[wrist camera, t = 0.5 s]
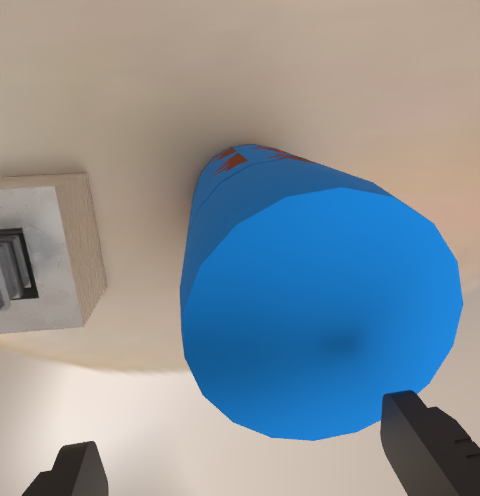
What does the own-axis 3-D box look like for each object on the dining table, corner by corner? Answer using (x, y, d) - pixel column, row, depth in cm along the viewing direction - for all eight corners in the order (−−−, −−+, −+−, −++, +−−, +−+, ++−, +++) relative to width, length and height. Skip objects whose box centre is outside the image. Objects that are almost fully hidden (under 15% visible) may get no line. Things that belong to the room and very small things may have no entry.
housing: (-18, 296, 37) (-74, 339, 30) (-53, 179, 33) (-128, 196, 26) (107, 287, 38) (83, 326, 31) (87, 172, 34) (54, 186, 27)
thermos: (274, 261, 39) (381, 466, 16) (180, 229, 37) (139, 412, 14) (316, 165, 36) (523, 242, 13) (215, 125, 34) (244, 128, 11)
